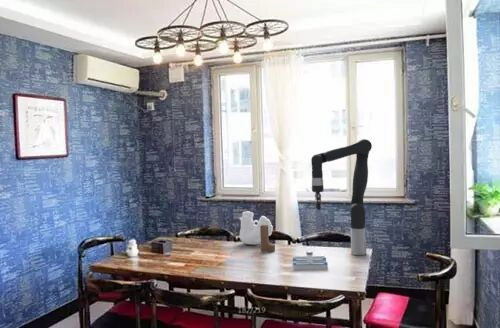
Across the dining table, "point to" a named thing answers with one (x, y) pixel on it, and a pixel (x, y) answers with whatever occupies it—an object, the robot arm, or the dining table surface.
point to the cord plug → (309, 256)
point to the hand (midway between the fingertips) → (318, 208)
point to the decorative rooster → (252, 228)
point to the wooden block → (266, 240)
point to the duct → (301, 263)
